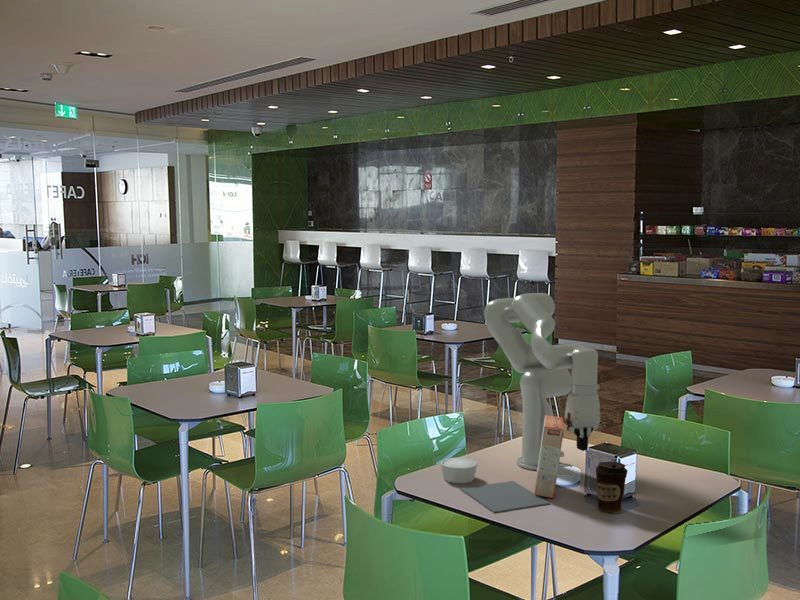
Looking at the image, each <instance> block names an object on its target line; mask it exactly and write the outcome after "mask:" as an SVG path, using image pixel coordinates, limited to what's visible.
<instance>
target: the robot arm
mask: <svg viewBox="0 0 800 600" xmlns="http://www.w3.org/2000/svg"><path fill="white" fill-rule="evenodd" d="M484 307H485V308H484V310H483V311H484V313H483V314H484V315H483V316H484V322H485V326H486V328H487V330H488V332H489V333H490V335H491V336H492V337H493V338H494V340H495V341H496V342H497V343H498V345H499V346H500V347H501V349H502V351H503V353H504V354H505V355H504V356H506V358H507V360H508V362H509V363H510V365H511V366H512V367H513V370H515V371H516V372H517V373H520V374H522V375H521V377H520V379H519V380H520V382H519V385H520V393H521V399H522V439H521V440H522V441H521V456H520V457H518V458H517V459H516V464H517V466H519V467H521V468H523V469H527V470H530V471H531V470H532V471H533V470H534V471H537V468H538V461H539V454H540V446H541V439H542V432H543V425H544V418H545V415H548V416H553V410H552V407H551V405H550V403H549V402H548V400H547V399H548V398H554V397H557V398H558V397H561V396H562V397H563V396H566V395H567V398H566V402H565V403H566V404H565V409H564V410H565V412H564V424H565V426H566V431H567V432H569V433H573V434H574V435H575V436H576V449H577V450H580V451H582V452H583V451H588V450H589V448H588V446H589V438H590V437H591V434H592V432H593V431H595V430H597V429H599V428H600V427H599V424H600V422H601V404H600V397H599V394H598V390H599V389H600V387H601V386H600V384H598V367H599V366H598V365H599V364H598V363H599V354H598V351H597V350H596V349H595V348H590V347H586V346H584V345H582V344H579V343H567V344H566V343H564V344H554V345H552V344H551V343H550V342H549V341H548V340H547V339H546V338H548V337H550V335H552V333H553V331H554V330H555V328H556V320H555V318H553V315H554V314H555V309H556V303H555V301H554V299H553V298H552V296H551V295H549V294H548V293H545V292H535V293H534V292H533V293H532V292H531V293H530V292H529V293H522V294H519V295H517V296H516V297H505V298H497V299H493V300H491V301H489V302H488V303H487V304H486V306H484ZM511 323H522V324H523V326H524V327H525V328H526V329H527V331H528V332H530V333H529V334H531V336H530V337H531V338H530V342H529V341H528V340H527V339H526V338H525V335H524V334H523V333H522V331H520V330H519V329H518V328H516V327H515V326H514V325H512V324H511ZM569 369H571V373H570V371H569ZM563 457H565V452H564V450H561V453H560V458H563Z"/></svg>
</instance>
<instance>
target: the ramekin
mask: <svg viewBox="0 0 800 600" xmlns="http://www.w3.org/2000/svg"><path fill="white" fill-rule="evenodd" d="M440 467H441V473H442V477H443V479H444V481H446V482H448V483H451V482H452V484H458V483H460V484H461V483H462V484H467V483H471V482H472V481H473V480H474V479H475V476H476V470H477V468H478V462H477V461H476V460H474V459H471V458H467V457H450V458H445V459H443V460H442V461H440Z"/></svg>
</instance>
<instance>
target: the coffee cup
mask: <svg viewBox="0 0 800 600" xmlns="http://www.w3.org/2000/svg"><path fill="white" fill-rule="evenodd" d="M625 467H626V465H625V464H624V463H622V462H620V461H599V462H598V466H596V467H595V474H596V476H595V477H596V479H595V480H596V496H597V497H596V498H597V509H598V511H601V512H604V513H608V514H618V513H620V514H621V512H623V509H622V501H623V497H624V495H625V486H626V478H627V475H628V469H627V468H625Z"/></svg>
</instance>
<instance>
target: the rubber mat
mask: <svg viewBox="0 0 800 600" xmlns="http://www.w3.org/2000/svg"><path fill="white" fill-rule="evenodd" d="M459 490H460V491H462V492H463V493H464V492H465V493H464V494H466V495H467V496H469V497H470V498H472V499H473V500H475V502H477V503H479V504H480V505H481V506H483V507H485V508H486V509H487V510H489V511H490V512H492V513H493V514H496V513H497V514H498V513H503V511H504V512H509V511H514V510H522V509H529V508H534V507H535V508H536V507H540V506H546V505H547V504H548V505H551V504H550V503H551V502H549V501H547V500H546V499H544V498H543V497H542V496H537V495H535V492H532V491H531V490H529V489H528V488H526V487H524V486H523V485H521V484H519V483H518V482H516V481H514V480H511V481H504V482H496V483H489V484H488V483H487V484H481V485H475V486H467V487H460V489H459Z"/></svg>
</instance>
